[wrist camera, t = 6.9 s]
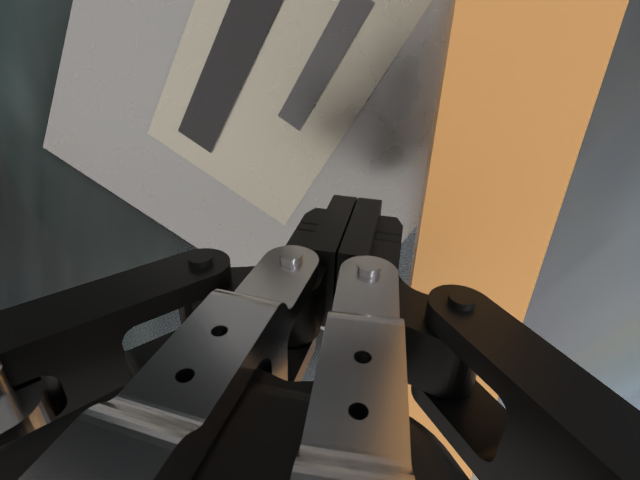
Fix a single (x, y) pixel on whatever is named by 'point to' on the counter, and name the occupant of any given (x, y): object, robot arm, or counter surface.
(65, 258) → the counter surface
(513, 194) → the swing arm
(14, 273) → the counter surface
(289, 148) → the plate
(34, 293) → the counter surface
